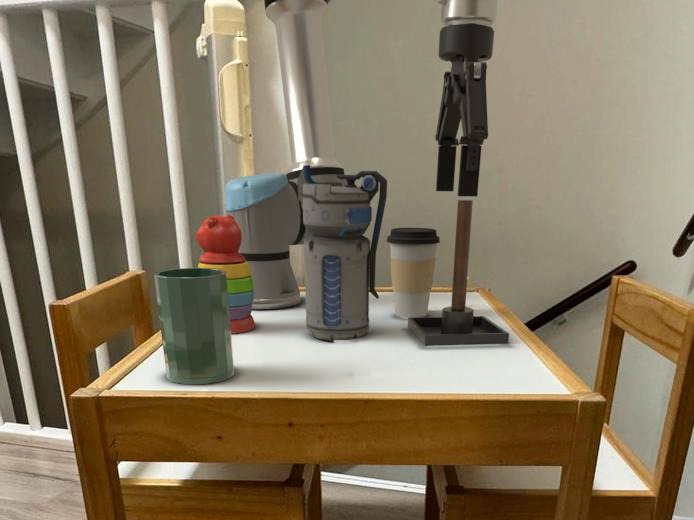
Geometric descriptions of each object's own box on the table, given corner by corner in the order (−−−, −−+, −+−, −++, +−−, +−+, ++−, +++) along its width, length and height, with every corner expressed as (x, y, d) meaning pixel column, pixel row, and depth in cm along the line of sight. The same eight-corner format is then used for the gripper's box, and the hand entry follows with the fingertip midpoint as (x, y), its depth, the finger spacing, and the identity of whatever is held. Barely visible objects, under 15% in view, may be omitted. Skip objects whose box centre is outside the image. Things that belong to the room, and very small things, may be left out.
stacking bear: (225, 318, 120) (216, 211, 112) (270, 325, 115) (264, 214, 107) (181, 330, 111) (169, 215, 103) (228, 337, 107) (218, 218, 99)
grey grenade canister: (379, 345, 103) (383, 166, 92) (296, 341, 105) (289, 165, 94) (386, 330, 112) (390, 165, 101) (309, 327, 114) (305, 165, 103)
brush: (437, 331, 110) (444, 199, 101) (467, 330, 110) (476, 199, 101) (445, 338, 105) (453, 201, 96) (475, 337, 106) (486, 201, 97)
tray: (407, 329, 113) (408, 317, 112) (482, 327, 115) (483, 315, 114) (424, 348, 101) (425, 335, 100) (508, 346, 103) (509, 333, 102)
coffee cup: (443, 320, 119) (448, 231, 113) (392, 322, 117) (395, 232, 111) (426, 310, 128) (430, 226, 121) (379, 312, 126) (380, 227, 119)
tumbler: (171, 367, 91) (159, 268, 86) (235, 365, 92) (227, 267, 87) (163, 385, 83) (149, 278, 78) (232, 383, 85) (224, 277, 79)
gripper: (421, 38, 103) (414, 189, 112) (465, 7, 81) (451, 198, 90) (469, 40, 104) (458, 189, 113) (524, 10, 81) (505, 199, 91)
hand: (455, 193), depth 102 cm, fingers open, 13 cm apart
